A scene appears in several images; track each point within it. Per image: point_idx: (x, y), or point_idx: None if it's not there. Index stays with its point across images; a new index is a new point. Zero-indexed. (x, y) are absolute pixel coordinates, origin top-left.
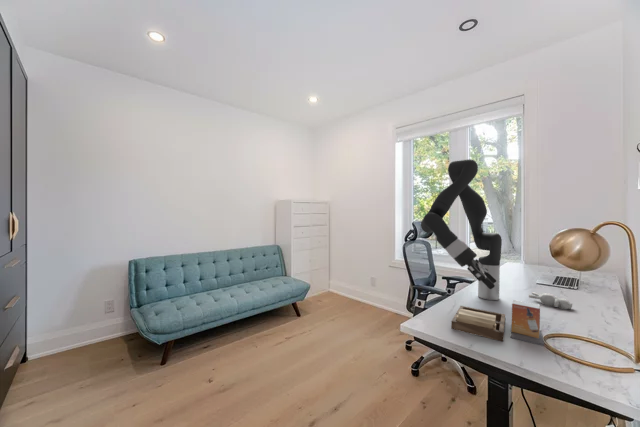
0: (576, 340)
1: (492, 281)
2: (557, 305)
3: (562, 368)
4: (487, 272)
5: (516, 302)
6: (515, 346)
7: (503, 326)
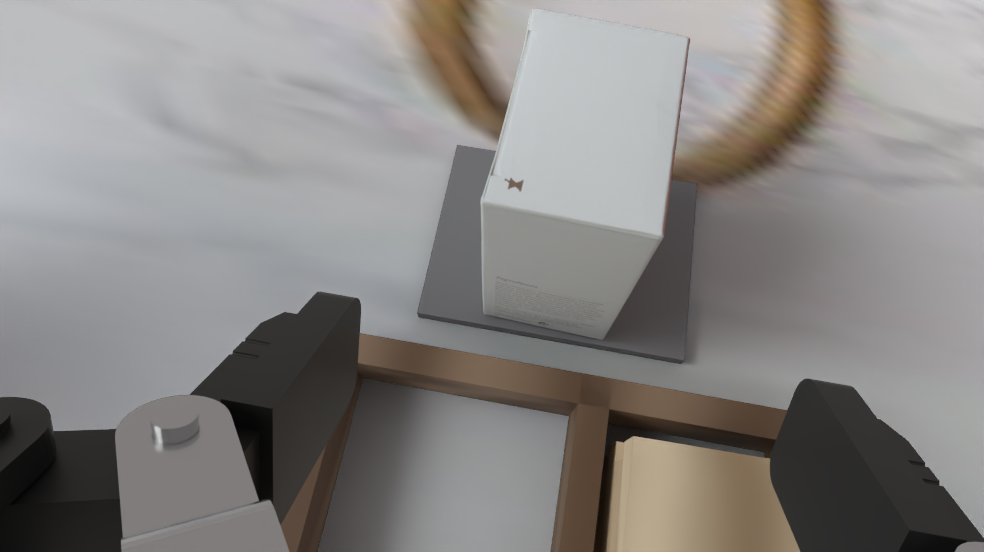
0: (499, 15)
1: (343, 370)
2: None
3: (960, 178)
4: (233, 446)
5: (591, 188)
6: (822, 357)
7: (671, 391)
